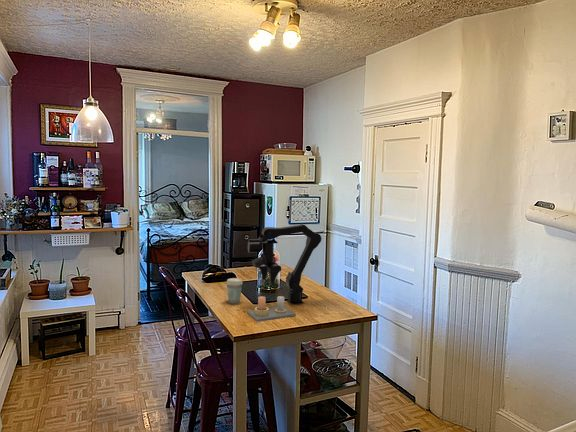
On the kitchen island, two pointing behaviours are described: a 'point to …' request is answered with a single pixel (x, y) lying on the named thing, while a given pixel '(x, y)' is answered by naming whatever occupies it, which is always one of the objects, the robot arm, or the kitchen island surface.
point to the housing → (272, 311)
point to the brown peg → (261, 303)
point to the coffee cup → (234, 290)
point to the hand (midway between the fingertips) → (267, 281)
